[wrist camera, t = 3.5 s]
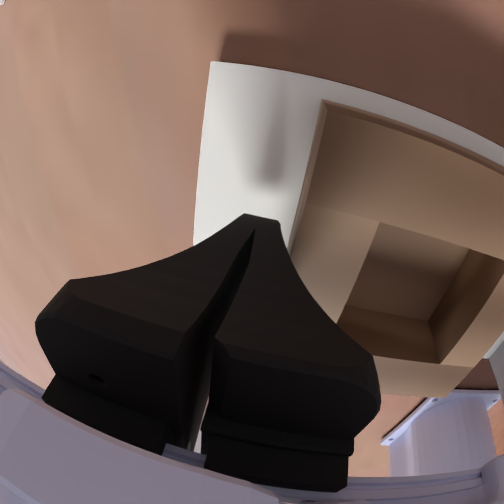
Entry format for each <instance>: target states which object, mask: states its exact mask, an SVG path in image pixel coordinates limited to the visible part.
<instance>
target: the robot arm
mask: <svg viewBox="0 0 504 504" xmlns="http://www.w3.org/2000/svg"><path fill="white" fill-rule="evenodd" d="M35 330H36V335H37V338H38V341H39V343H40V345H41V347H42V349H43V351H44V353H45V355H46V357H47V359H48V361H49V363H50V365H51V366H52V368H53V370H54V372H55V374H56V375H55V376H54V378H53V379H52V381H51V383H50V384H49V386H48V387H47V389H46V390H45V389H43V388H41V387H40V386H38V385H36V384H35V383H33V382H31V381H30V380H28V379H26V378H25V377H23V376H22V375H20V374H18V373H17V372H15V371H14V370H12V369H11V368H9V367H8V366H6V365H5V364H3V363H2V362H0V504H288V503H294V504H504V454H503V455H500V456H498V457H497V454H496V449H495V444H494V439H493V434H492V429H491V425H490V421H489V416H488V412H487V410H488V409H490V408H491V407H492V406H493V405H494V404H495V403H496V402H497V401H498V400H499V399H501V394H500V391H499V390H459V389H453V390H452V391H451V392H450V393H449V394H448V395H447V396H446V397H445V398H430V397H428V398H427V399H426V400H425V401H424V402H423V403H422V404H421V405H420V406H419V407H418V408H417V409H416V410H415V411H414V412H412V413H411V414H410V415H409V416H408V417H407V418H406V419H405V420H404V421H403V422H402V423H400V424H399V425H398V426H397V427H396V428H395V429H394V430H393V431H391V432H390V433H389V434H388V435H387V436H385V437H384V438H383V439H382V440H381V445H386V446H389V461H390V477H348V459H349V456H351V455H352V454H353V452H354V437H355V436H356V435H357V434H359V433H360V432H361V431H362V430H363V429H364V428H365V427H366V426H367V425H368V424H369V423H370V422H371V421H372V420H373V419H374V418H375V416H376V415H377V413H378V412H379V411H380V405H381V394H380V384H379V379H378V374H377V370H376V366H375V362H374V358H373V356H372V355H371V354H370V353H369V352H368V351H366V350H365V349H364V348H363V347H362V346H360V345H359V344H358V343H357V342H356V341H354V340H353V339H352V338H351V337H350V336H348V335H347V334H346V333H345V332H344V331H343V330H342V329H341V328H340V327H339V326H338V325H337V324H336V323H335V322H334V321H333V320H332V319H331V318H330V317H329V316H328V315H327V314H326V312H325V311H324V310H323V309H322V308H321V306H320V305H319V304H318V303H317V302H316V300H315V299H314V298H313V297H312V295H311V294H310V292H309V291H308V289H307V288H306V286H305V285H304V283H303V281H302V280H301V278H300V276H299V274H298V272H297V270H296V268H295V266H294V264H293V262H292V260H291V258H290V255H289V253H288V250H287V248H286V245H285V242H284V239H283V236H282V232H281V224H280V223H279V221H278V220H274V219H269V218H265V217H260V216H255V215H251V214H246V213H244V214H242V215H240V216H239V217H238V218H236V219H235V220H233V221H232V222H231V223H229V224H228V225H226V226H225V227H224V228H222V229H221V230H219V231H218V232H216V233H215V234H213V235H212V236H210V237H208V238H207V239H205V240H203V241H201V242H200V243H198V244H196V245H194V246H192V247H191V248H188V249H186V250H184V251H182V252H180V253H177V254H175V255H173V256H170V257H168V258H165V259H162V260H159V261H156V262H153V263H150V264H147V265H144V266H141V267H138V268H134V269H130V270H126V271H121V272H117V273H112V274H107V275H101V276H94V277H87V278H80V279H71V280H69V281H68V282H67V283H66V284H65V285H64V286H63V287H62V288H61V290H60V291H59V292H58V293H57V294H56V295H55V296H54V298H53V299H52V300H51V301H50V302H49V303H48V304H47V306H46V307H45V308H44V309H43V310H42V312H41V313H40V314H39V315H38V317H37V319H36V321H35ZM208 397H209V401H208ZM207 401H208V404H207ZM206 404H207V408H206ZM205 408H206V411H205ZM204 411H205V414H204ZM203 415H204V417H203ZM202 419H203V420H202ZM201 422H202V423H201ZM200 426H201V427H200ZM199 430H200V431H201V453H197V452H194V448H195V444H196V441H197V437H198V433H199ZM282 502H285V503H282Z"/></svg>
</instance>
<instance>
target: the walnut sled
mask: <svg viewBox="0 0 504 504" xmlns="http://www.w3.org/2000/svg"><path fill="white" fill-rule="evenodd" d="M287 250H288V253H289V255H290V258H291V260H292V262H293V264H294V266H295V268H296V270H297V272H298V274H299V276H300V278H301V280H302V281H303V283H304V285H305V286H306V288H307V289H308V291H309V292H310V294H311V295H312V297H313V298H314V299H315V300H316V302H317V303H318V304H319V305H320V306H321V308H322V309H323V310H324V311H325V312H326V314H327V315H328V316H329V317H330V318H331V319H332V320H333V321H334V322H335V323H336V324H337V325H338V326H339V327H340V328H341V329H342V330H343V331H344V332H345V333H346V334H347V335H348V336H350V337H351V338H352V339H353V340H354V341H356V342H357V343H358V344H359V345H360V346H362V347H363V348H364V349H365V350H366V351H368V352H369V353H370V354H371V355H372V356H373V358H374V362H375V366H376V370H377V374H378V379H379V384H380V394H390V395H401V396H414V397H430V398H445V397H446V396H447V395H448V394H449V393H450V392H451V391H452V390H453V389H454V388H455V387H456V386H457V385H458V384H459V383H460V382H461V381H462V380H463V379H464V378H465V377H466V376H467V375H468V373H469V372H470V371H471V370H472V369H473V368H474V367H475V366H476V365H477V363H478V362H479V361H480V360H481V359H482V358H483V356H484V355H485V354H486V353H487V352H488V350H489V349H490V348H491V347H492V346H493V344H494V343H495V342H496V341H497V339H498V338H499V337H500V335H501V334H502V333H503V332H504V167H503V166H502V165H500V164H498V163H496V162H494V161H492V160H490V159H488V158H486V157H484V156H482V155H480V154H478V153H476V152H473V151H471V150H469V149H467V148H465V147H463V146H460V145H458V144H456V143H454V142H451V141H449V140H446V139H444V138H442V137H439V136H437V135H434V134H432V133H429V132H427V131H424V130H421V129H419V128H416V127H413V126H411V125H408V124H405V123H402V122H399V121H397V120H394V119H391V118H388V117H384V116H381V115H378V114H375V113H372V112H369V111H365V110H362V109H358V108H355V107H351V106H348V105H344V104H340V103H336V102H332V101H328V100H324V99H322V100H321V105H320V110H319V114H318V119H317V123H316V128H315V133H314V137H313V141H312V146H311V150H310V155H309V159H308V163H307V168H306V172H305V176H304V181H303V185H302V189H301V193H300V197H299V202H298V206H297V210H296V214H295V218H294V222H293V226H292V230H291V234H290V238H289V242H288V246H287Z"/></svg>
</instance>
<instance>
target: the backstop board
mask: <svg viewBox="0 0 504 504" xmlns="http://www.w3.org/2000/svg"><path fill="white" fill-rule="evenodd" d="M322 99H324V100H328V101H332V102H336V103H340V104H344V105H348V106H351V107H355V108H358V109H362V110H365V111H369V112H372V113H375V114H378V115H381V116H384V117H388V118H391V119H394V120H397V121H399V122H402V123H405V124H408V125H411V126H413V127H416V128H419V129H421V130H424V131H427V132H429V133H432V134H434V135H437V136H439V137H442V138H444V139H446V140H449V141H451V142H454V143H456V144H458V145H460V146H463V147H465V148H467V149H469V150H471V151H473V152H476V153H478V154H480V155H482V156H484V157H486V158H488V159H490V160H492V161H494V162H496V163H498V164H500V165H502V166H503V167H504V148H503V147H501V146H499V145H497V144H495V143H494V142H492V141H490V140H488V139H486V138H484V137H482V136H480V135H478V134H476V133H474V132H472V131H470V130H468V129H466V128H464V127H462V126H459V125H457V124H455V123H453V122H450V121H448V120H446V119H444V118H441V117H439V116H437V115H434V114H432V113H429V112H427V111H424V110H422V109H419V108H416V107H414V106H411V105H408V104H406V103H403V102H400V101H397V100H394V99H391V98H388V97H385V96H382V95H379V94H376V93H373V92H370V91H366V90H363V89H360V88H356V87H353V86H349V85H345V84H342V83H338V82H334V81H330V80H326V79H321V78H317V77H313V76H308V75H303V74H299V73H293V72H288V71H283V70H277V69H271V68H265V67H258V66H251V65H244V64H236V63H227V62H216V61H211V66H210V73H209V80H208V88H207V95H206V104H205V112H204V121H203V130H202V139H201V149H200V159H199V170H198V182H197V194H196V207H195V222H194V238H193V246H194V245H196V244H198V243H200V242H201V241H203V240H205V239H207V238H208V237H210V236H212V235H213V234H215V233H216V232H218V231H219V230H221V229H222V228H224V227H225V226H226V225H228V224H229V223H231V222H232V221H233V220H235V219H236V218H238V217H239V216H240V215H242V214H244V213H246V214H251V215H255V216H260V217H265V218H269V219H274V220H278V221H279V223H280V224H281V232H282V236H283V239H284V242H285V245H286V248H287V246H288V242H289V238H290V234H291V230H292V226H293V222H294V218H295V214H296V210H297V206H298V202H299V197H300V193H301V189H302V185H303V181H304V176H305V172H306V168H307V163H308V159H309V155H310V150H311V146H312V141H313V137H314V133H315V128H316V123H317V119H318V114H319V110H320V105H321V100H322ZM483 358H486V359H489V362H490V364H491V367H492V370H493V373H494V376H495V379H496V382H497V385H498V388H499V391H500V394H501V398H502V401H503V405H504V332H503V333H502V334H501V335H500V337H499V338H498V339H497V341H496V342H495V343H494V344H493V346H492V347H491V348H490V349H489V350H488V352H487V353H486V354H485V355H484V356H483Z"/></svg>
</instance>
